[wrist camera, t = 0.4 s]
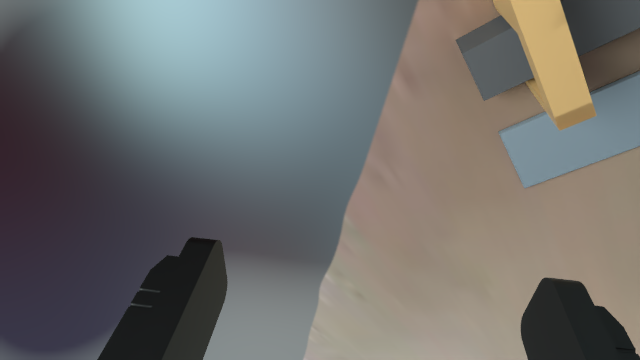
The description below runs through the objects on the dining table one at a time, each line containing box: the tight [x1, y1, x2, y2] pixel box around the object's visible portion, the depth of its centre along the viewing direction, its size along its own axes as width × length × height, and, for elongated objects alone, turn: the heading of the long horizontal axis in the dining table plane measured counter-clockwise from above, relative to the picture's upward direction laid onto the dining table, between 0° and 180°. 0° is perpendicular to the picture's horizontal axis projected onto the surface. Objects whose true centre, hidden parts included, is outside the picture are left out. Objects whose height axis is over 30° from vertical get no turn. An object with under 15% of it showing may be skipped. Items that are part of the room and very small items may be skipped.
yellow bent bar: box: [493, 0, 597, 131], centre depth 25 cm, size 2×10×7 cm, turn 33°
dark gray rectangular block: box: [456, 0, 640, 101], centre depth 26 cm, size 14×4×3 cm, turn 123°
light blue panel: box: [499, 71, 640, 188], centre depth 31 cm, size 14×6×1 cm, turn 123°
